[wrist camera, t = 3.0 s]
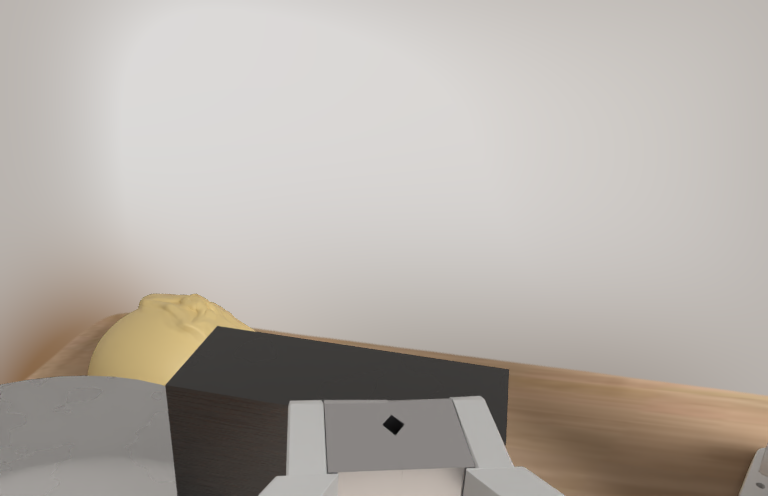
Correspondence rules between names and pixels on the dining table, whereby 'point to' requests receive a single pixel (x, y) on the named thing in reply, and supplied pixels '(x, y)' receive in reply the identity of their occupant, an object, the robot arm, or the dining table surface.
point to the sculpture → (158, 337)
